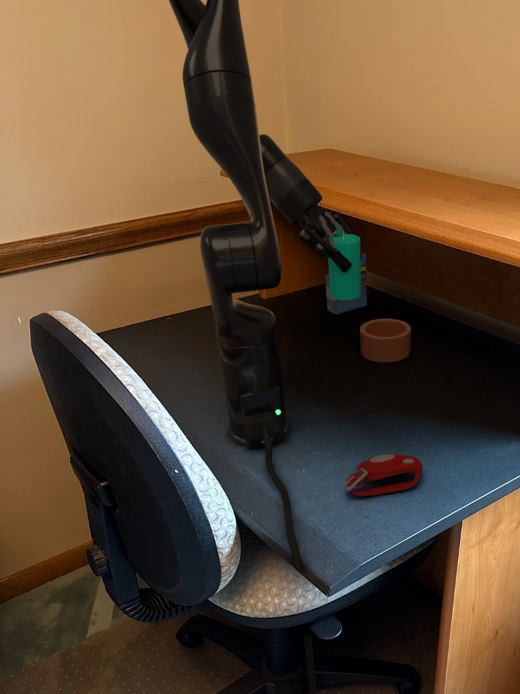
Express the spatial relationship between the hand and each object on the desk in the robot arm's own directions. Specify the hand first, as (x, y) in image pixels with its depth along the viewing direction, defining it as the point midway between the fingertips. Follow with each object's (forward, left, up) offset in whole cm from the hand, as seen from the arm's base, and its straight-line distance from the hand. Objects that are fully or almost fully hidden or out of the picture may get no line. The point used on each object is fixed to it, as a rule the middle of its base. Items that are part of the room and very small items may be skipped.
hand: (353, 264), depth 124 cm
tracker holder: (-42, +14, -18) cm, 48 cm away
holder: (-2, -6, -18) cm, 19 cm away
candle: (+1, +1, -6) cm, 6 cm away
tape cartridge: (+23, -8, -18) cm, 30 cm away
